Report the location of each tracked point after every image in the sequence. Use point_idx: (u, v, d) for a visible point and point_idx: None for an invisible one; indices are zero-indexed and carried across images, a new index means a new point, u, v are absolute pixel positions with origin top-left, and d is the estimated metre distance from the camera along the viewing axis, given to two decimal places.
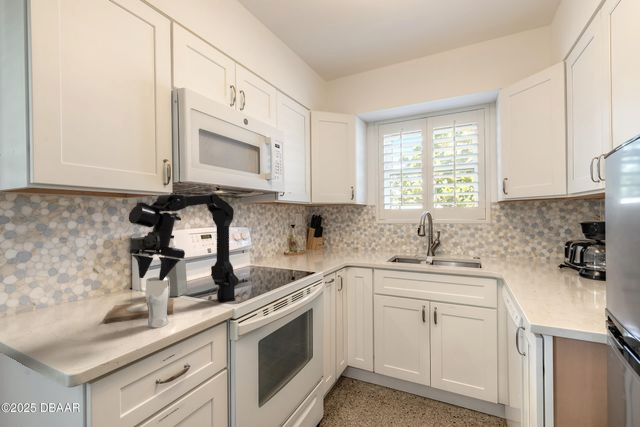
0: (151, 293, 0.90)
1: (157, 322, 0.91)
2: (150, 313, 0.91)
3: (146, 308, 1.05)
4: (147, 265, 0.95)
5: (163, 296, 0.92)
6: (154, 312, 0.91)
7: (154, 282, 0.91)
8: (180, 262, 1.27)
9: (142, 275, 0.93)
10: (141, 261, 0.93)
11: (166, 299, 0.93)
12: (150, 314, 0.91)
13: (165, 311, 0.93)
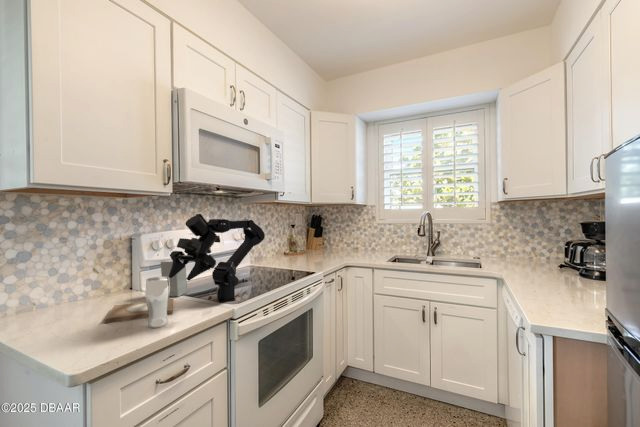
0: (151, 293, 0.90)
1: (157, 322, 0.91)
2: (150, 313, 0.91)
3: (146, 308, 1.05)
4: (178, 269, 1.06)
5: (163, 296, 0.92)
6: (154, 312, 0.91)
7: (154, 282, 0.91)
8: None
9: (171, 275, 1.03)
10: (176, 264, 1.05)
11: (166, 299, 0.93)
12: (150, 314, 0.91)
13: (165, 311, 0.93)
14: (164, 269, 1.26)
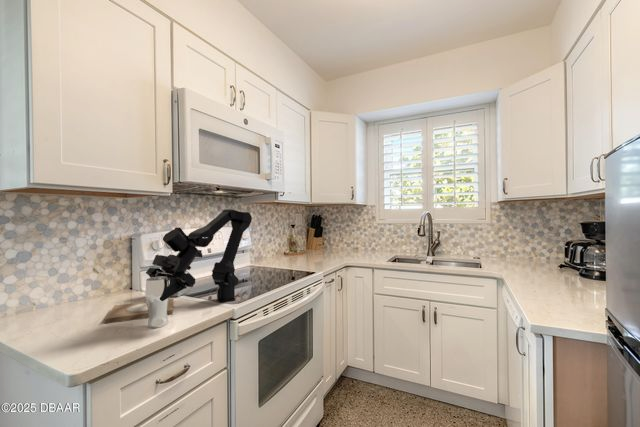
0: (151, 293, 0.90)
1: (157, 322, 0.91)
2: (150, 313, 0.91)
3: (146, 308, 1.05)
4: None
5: None
6: (154, 312, 0.91)
7: (154, 282, 0.91)
8: None
9: None
10: None
11: (166, 299, 0.93)
12: (150, 314, 0.91)
13: (165, 311, 0.93)
14: None
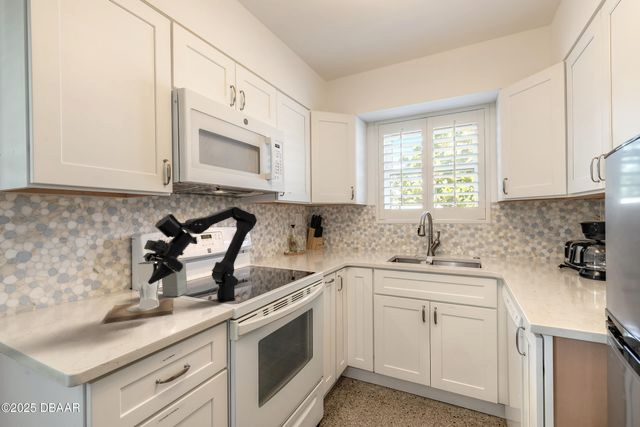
0: (140, 276, 0.94)
1: (146, 304, 0.94)
2: (140, 295, 0.95)
3: None
4: None
5: None
6: (144, 295, 0.94)
7: (142, 266, 0.94)
8: None
9: None
10: None
11: (155, 283, 0.96)
12: (140, 296, 0.95)
13: (155, 294, 0.96)
14: None
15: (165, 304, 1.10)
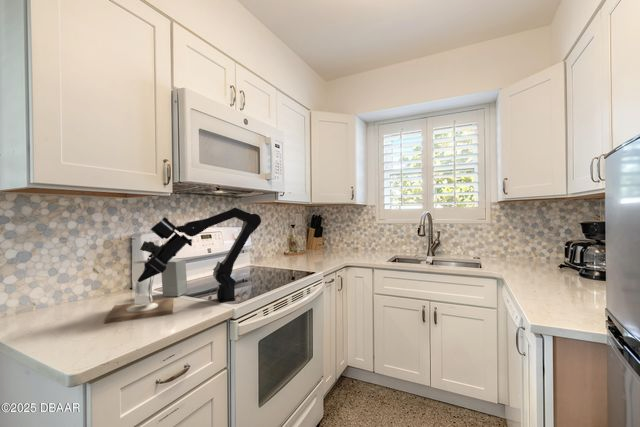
0: (132, 274, 1.04)
1: (137, 300, 1.04)
2: None
3: (146, 308, 1.05)
4: None
5: None
6: (136, 291, 1.04)
7: (134, 264, 1.04)
8: (180, 262, 1.27)
9: None
10: None
11: (145, 281, 1.04)
12: None
13: (145, 291, 1.05)
14: None
15: (165, 304, 1.10)
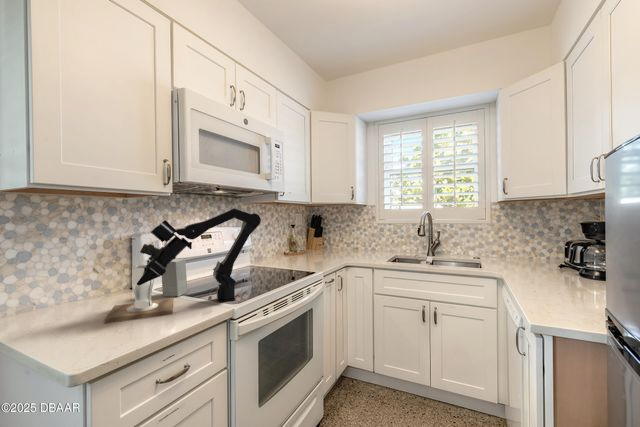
0: (132, 279, 1.03)
1: (137, 305, 1.04)
2: None
3: None
4: None
5: None
6: (135, 296, 1.04)
7: (134, 269, 1.03)
8: (180, 262, 1.27)
9: None
10: None
11: (145, 286, 1.04)
12: None
13: (145, 296, 1.05)
14: None
15: (165, 304, 1.10)
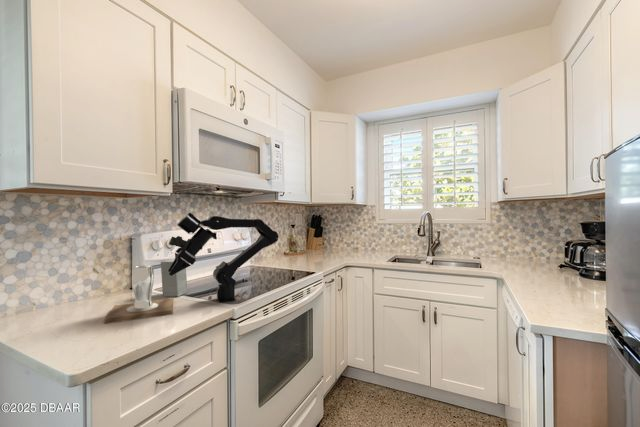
0: (132, 279, 1.03)
1: (137, 305, 1.04)
2: None
3: None
4: None
5: (141, 282, 1.03)
6: (135, 296, 1.04)
7: (134, 269, 1.03)
8: None
9: (170, 270, 1.14)
10: (176, 259, 1.16)
11: (145, 286, 1.04)
12: None
13: (145, 296, 1.05)
14: (164, 269, 1.26)
15: (165, 304, 1.10)
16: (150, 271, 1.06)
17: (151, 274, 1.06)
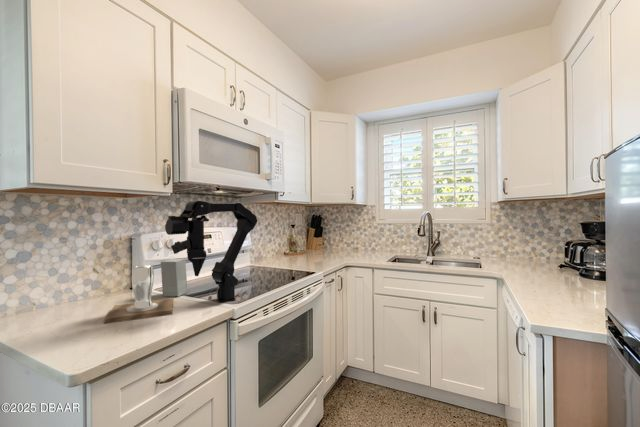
0: (132, 279, 1.03)
1: (137, 305, 1.04)
2: None
3: None
4: None
5: (141, 282, 1.03)
6: (135, 296, 1.04)
7: (134, 269, 1.03)
8: (180, 262, 1.27)
9: None
10: None
11: (145, 286, 1.04)
12: None
13: (145, 296, 1.05)
14: (164, 269, 1.26)
15: (165, 304, 1.10)
16: (150, 271, 1.06)
17: (151, 274, 1.06)
